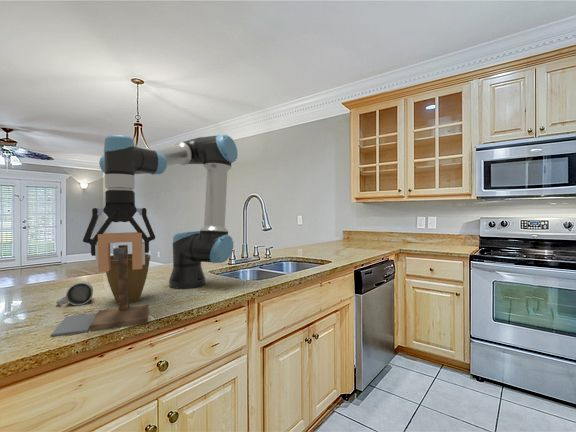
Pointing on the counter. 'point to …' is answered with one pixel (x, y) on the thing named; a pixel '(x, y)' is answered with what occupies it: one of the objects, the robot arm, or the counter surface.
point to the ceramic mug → (77, 294)
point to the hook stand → (121, 301)
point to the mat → (74, 325)
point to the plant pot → (134, 278)
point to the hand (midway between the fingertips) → (121, 265)
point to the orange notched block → (109, 238)
